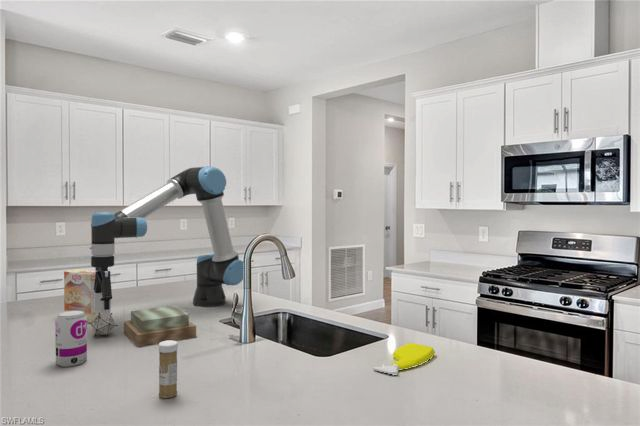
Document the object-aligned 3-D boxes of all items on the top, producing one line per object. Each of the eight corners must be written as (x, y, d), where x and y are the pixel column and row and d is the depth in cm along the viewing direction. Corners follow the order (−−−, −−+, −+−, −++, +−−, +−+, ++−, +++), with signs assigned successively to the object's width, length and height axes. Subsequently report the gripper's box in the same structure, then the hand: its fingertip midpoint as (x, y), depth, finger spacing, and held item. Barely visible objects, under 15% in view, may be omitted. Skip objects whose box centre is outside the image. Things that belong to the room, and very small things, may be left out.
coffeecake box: (63, 318, 188) (63, 271, 187) (78, 314, 194) (78, 268, 194) (90, 322, 182) (90, 273, 181) (105, 318, 189) (105, 271, 188)
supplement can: (92, 360, 140) (92, 311, 140) (68, 369, 133) (67, 317, 133) (74, 356, 144) (74, 308, 143) (49, 364, 136) (49, 314, 136)
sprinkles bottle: (155, 395, 116) (155, 342, 116) (171, 389, 120) (171, 338, 119) (165, 400, 113) (164, 346, 113) (181, 394, 117) (181, 342, 116)
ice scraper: (437, 357, 148) (402, 382, 128) (406, 350, 154) (368, 372, 135) (438, 348, 147) (402, 371, 128) (407, 341, 154) (368, 362, 135)
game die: (109, 344, 167) (127, 321, 169) (96, 343, 159) (115, 318, 161) (91, 330, 169) (109, 307, 172) (78, 328, 161) (97, 304, 164)
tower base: (178, 324, 181) (178, 303, 181) (196, 337, 165) (196, 314, 164) (124, 332, 170) (123, 310, 169) (137, 347, 153) (137, 323, 153)
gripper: (85, 252, 173) (85, 308, 173) (97, 259, 152) (97, 323, 153) (107, 251, 177) (106, 306, 177) (121, 258, 157) (121, 320, 157)
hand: (102, 314), depth 165 cm, fingers open, 13 cm apart
